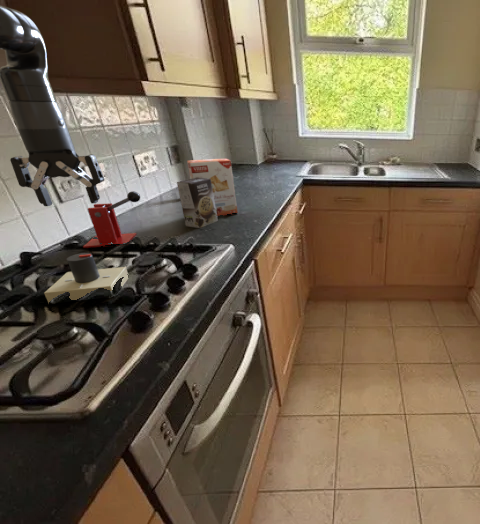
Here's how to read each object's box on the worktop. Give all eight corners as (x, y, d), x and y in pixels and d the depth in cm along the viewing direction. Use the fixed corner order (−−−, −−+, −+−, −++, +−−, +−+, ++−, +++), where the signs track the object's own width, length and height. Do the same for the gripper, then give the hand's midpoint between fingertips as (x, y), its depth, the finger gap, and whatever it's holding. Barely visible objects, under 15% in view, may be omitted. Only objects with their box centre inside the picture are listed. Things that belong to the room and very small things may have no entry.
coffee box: (200, 230, 114) (190, 183, 107) (185, 227, 116) (175, 181, 109) (219, 222, 122) (211, 178, 115) (205, 220, 124) (196, 176, 117)
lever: (144, 197, 101) (136, 188, 99) (141, 200, 98) (133, 190, 96) (103, 216, 100) (95, 207, 98) (99, 220, 97) (90, 210, 95)
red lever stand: (137, 236, 107) (126, 201, 102) (128, 247, 99) (116, 209, 94) (97, 239, 104) (84, 202, 99) (84, 250, 96) (69, 211, 91)
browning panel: (49, 305, 71) (43, 292, 69) (71, 283, 79) (66, 271, 78) (114, 297, 74) (110, 285, 73) (129, 277, 83) (125, 266, 81)
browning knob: (71, 284, 73) (61, 260, 70) (80, 275, 77) (71, 252, 74) (95, 281, 74) (86, 258, 72) (103, 273, 78) (95, 250, 75)
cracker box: (200, 219, 124) (189, 162, 115) (197, 215, 128) (186, 159, 119) (238, 214, 132) (230, 159, 123) (234, 210, 136) (226, 157, 127)
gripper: (91, 125, 72) (114, 197, 79) (8, 125, 68) (41, 202, 75) (77, 127, 66) (103, 206, 73) (-16, 127, 62) (22, 211, 69)
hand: (72, 204), depth 74 cm, fingers open, 8 cm apart
